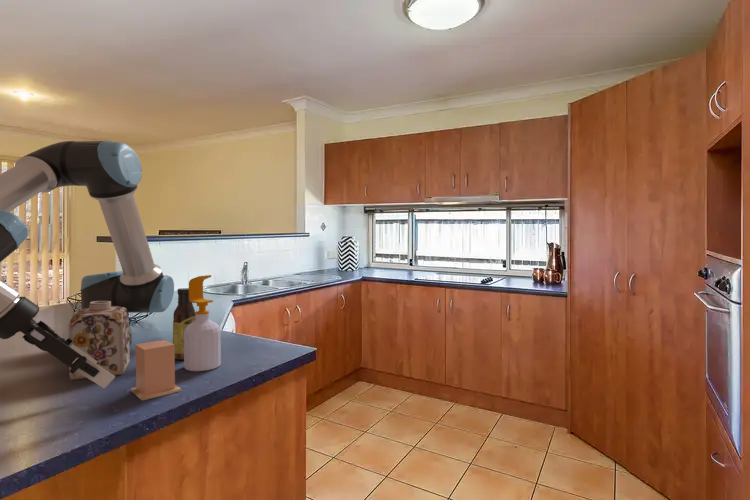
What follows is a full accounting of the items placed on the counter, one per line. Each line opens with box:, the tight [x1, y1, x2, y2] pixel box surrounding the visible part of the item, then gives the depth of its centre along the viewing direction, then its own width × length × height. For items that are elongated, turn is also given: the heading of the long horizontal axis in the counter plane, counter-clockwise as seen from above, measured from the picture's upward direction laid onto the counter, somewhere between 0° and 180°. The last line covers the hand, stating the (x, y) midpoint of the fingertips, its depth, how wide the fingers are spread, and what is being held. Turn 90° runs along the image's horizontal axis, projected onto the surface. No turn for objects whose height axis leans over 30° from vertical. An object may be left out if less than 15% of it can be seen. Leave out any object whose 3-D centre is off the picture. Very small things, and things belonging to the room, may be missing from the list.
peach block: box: [134, 339, 176, 396], centre depth 95 cm, size 6×6×10 cm
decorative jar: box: [68, 301, 131, 381], centre depth 109 cm, size 12×12×18 cm
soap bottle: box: [183, 274, 222, 373], centre depth 113 cm, size 9×9×25 cm
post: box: [130, 384, 182, 401], centre depth 95 cm, size 8×8×7 cm
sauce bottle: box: [172, 287, 196, 361], centre depth 121 cm, size 6×6×20 cm
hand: (100, 374), depth 88 cm, fingers open, 13 cm apart
